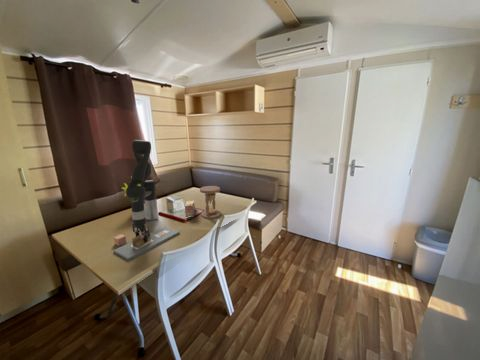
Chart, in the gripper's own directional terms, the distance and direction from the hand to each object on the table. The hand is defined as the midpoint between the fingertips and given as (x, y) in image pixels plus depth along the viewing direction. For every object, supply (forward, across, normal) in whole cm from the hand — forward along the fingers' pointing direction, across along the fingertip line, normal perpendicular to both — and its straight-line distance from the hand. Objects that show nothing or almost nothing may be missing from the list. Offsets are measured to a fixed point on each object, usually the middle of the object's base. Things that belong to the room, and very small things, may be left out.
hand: (141, 240), depth 131 cm
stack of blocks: (+4, -12, +55) cm, 56 cm away
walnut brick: (+2, 0, 0) cm, 2 cm away
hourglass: (+4, +6, +62) cm, 62 cm away
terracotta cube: (+4, -15, -6) cm, 17 cm away
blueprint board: (+4, 0, +5) cm, 6 cm away
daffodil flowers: (+4, -54, +29) cm, 61 cm away
